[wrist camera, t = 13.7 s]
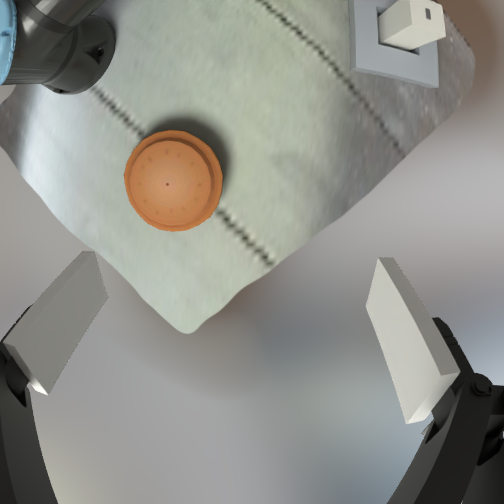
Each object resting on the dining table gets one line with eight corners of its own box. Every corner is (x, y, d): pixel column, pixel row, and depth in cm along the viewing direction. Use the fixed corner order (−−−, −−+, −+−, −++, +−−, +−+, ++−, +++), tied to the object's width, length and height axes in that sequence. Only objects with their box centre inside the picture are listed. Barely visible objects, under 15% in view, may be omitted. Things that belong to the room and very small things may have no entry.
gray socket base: (429, 88, 34) (438, 87, 32) (350, 70, 35) (355, 67, 32) (424, 7, 28) (432, 3, 25) (347, -14, 28) (351, -21, 25)
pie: (192, 109, 39) (183, 108, 35) (244, 193, 45) (242, 202, 40) (118, 164, 43) (103, 170, 39) (167, 239, 49) (157, 251, 44)
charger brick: (406, 51, 32) (446, 36, 21) (378, 44, 32) (412, 24, 21) (405, 25, 30) (442, 4, 19) (377, 17, 30) (408, -8, 19)
